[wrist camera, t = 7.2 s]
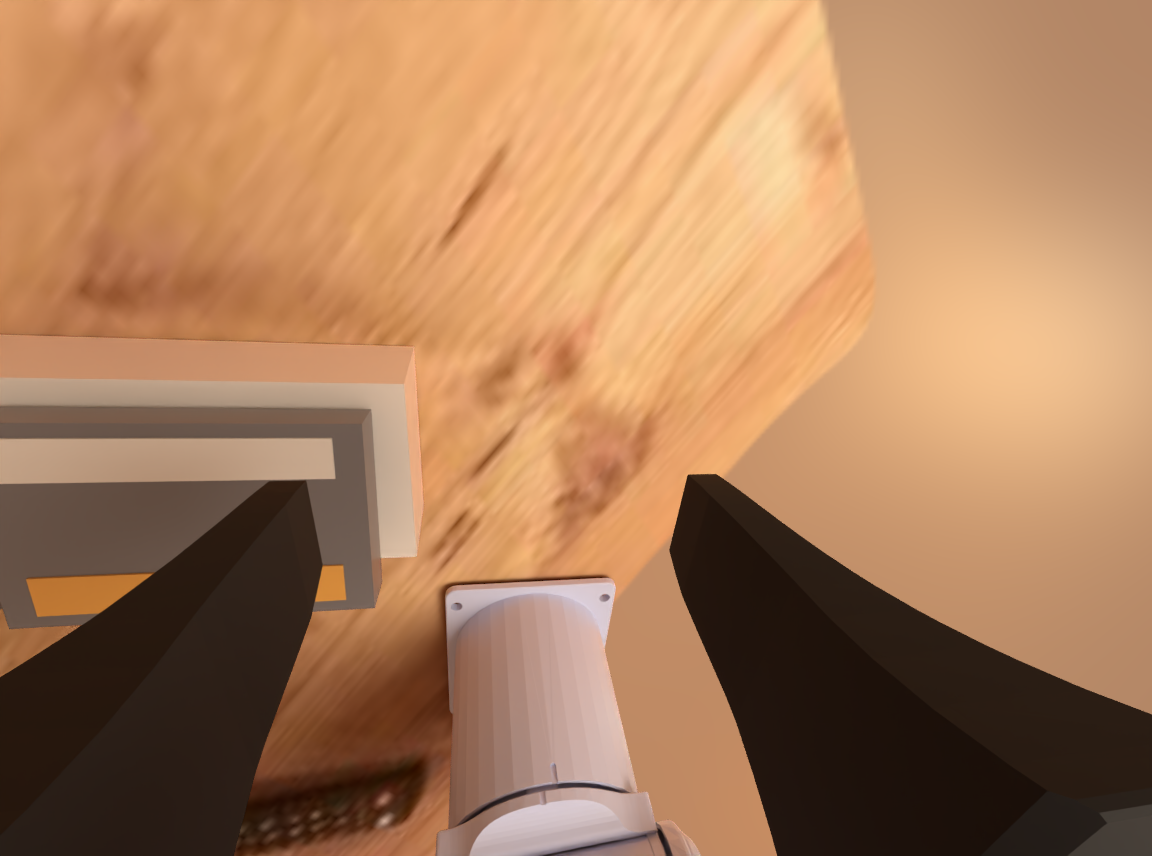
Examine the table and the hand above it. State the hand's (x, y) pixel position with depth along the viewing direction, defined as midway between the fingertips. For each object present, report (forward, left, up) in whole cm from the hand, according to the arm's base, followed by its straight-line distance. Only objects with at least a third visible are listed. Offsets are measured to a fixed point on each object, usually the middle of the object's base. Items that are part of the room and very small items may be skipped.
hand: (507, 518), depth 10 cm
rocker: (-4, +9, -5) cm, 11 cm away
